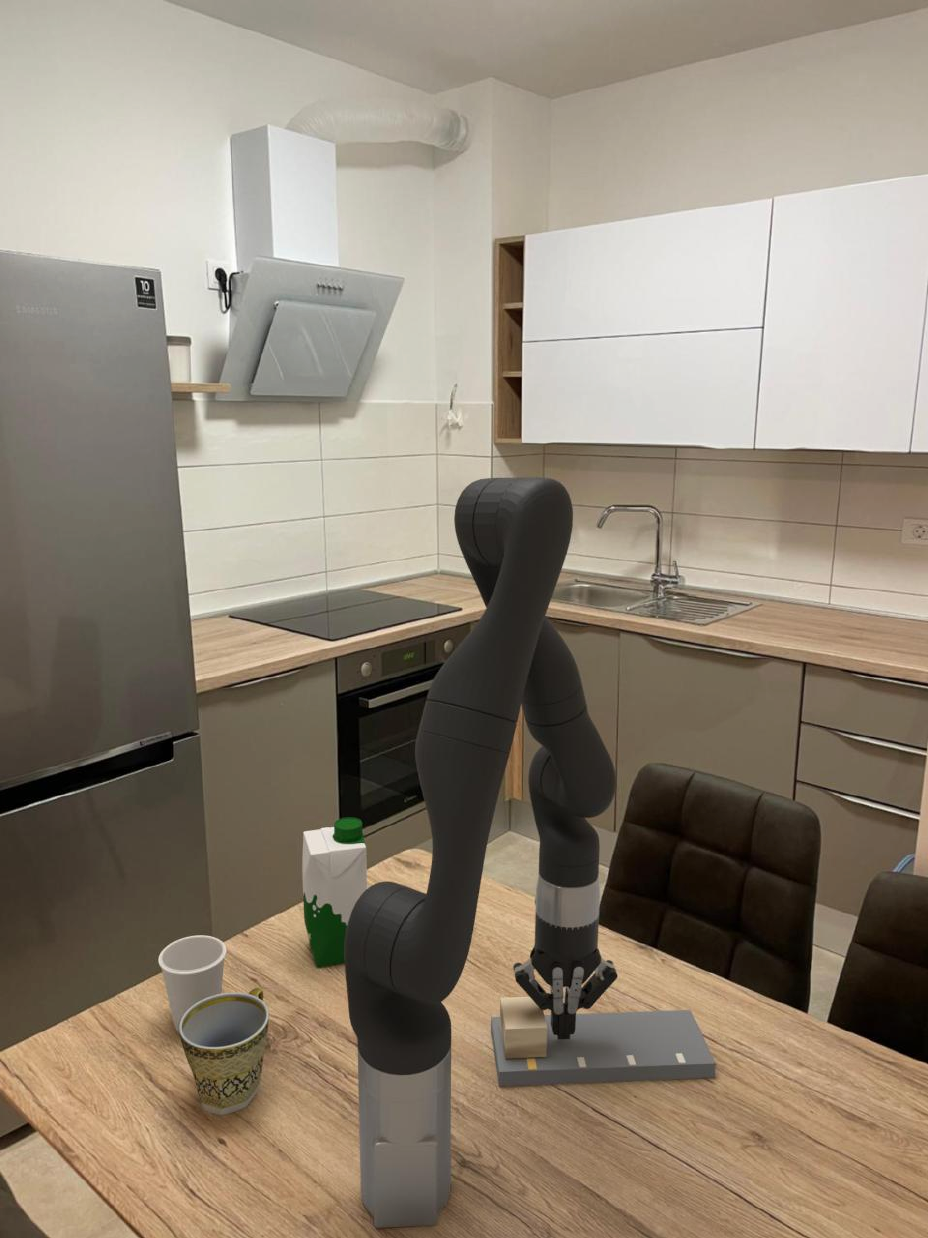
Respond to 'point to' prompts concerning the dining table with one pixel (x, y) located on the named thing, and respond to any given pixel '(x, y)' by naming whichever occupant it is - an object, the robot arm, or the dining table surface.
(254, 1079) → the ceramic cup
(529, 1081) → the board
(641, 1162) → the dining table surface
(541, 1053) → the knob
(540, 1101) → the dining table surface
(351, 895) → the soya milk
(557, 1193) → the dining table surface
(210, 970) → the dixie cup
